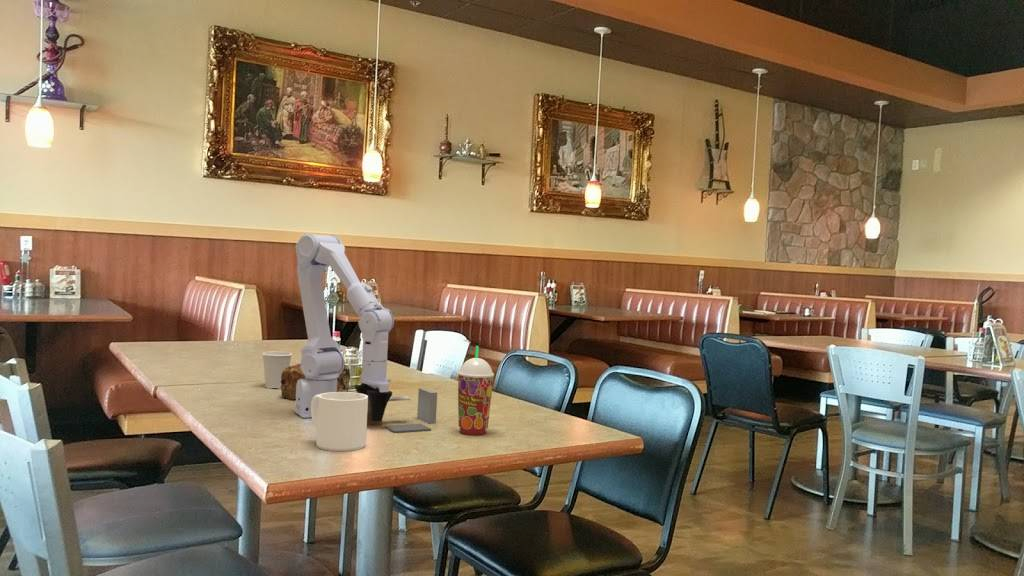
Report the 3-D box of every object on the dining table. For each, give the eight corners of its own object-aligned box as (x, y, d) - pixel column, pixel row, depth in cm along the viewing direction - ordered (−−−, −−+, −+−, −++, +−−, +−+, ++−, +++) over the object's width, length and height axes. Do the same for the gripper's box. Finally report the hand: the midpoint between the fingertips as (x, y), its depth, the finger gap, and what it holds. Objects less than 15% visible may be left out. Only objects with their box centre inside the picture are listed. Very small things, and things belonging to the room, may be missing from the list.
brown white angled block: (366, 426, 180) (368, 400, 180) (361, 423, 183) (362, 397, 183) (410, 423, 185) (411, 398, 185) (404, 420, 189) (405, 395, 188)
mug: (375, 444, 163) (377, 395, 163) (347, 454, 154) (349, 402, 153) (325, 436, 168) (327, 388, 167) (295, 445, 159) (297, 395, 158)
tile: (428, 423, 186) (430, 392, 186) (417, 418, 192) (418, 388, 192) (436, 423, 187) (437, 392, 187) (424, 417, 193) (425, 387, 193)
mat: (394, 433, 174) (394, 431, 174) (384, 427, 179) (384, 425, 179) (431, 430, 179) (431, 428, 179) (420, 425, 184) (420, 423, 184)
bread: (320, 390, 225) (322, 355, 225) (351, 394, 221) (353, 359, 221) (277, 399, 208) (279, 362, 208) (310, 403, 204) (312, 365, 204)
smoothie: (448, 433, 177) (453, 345, 176) (463, 426, 184) (467, 343, 184) (482, 438, 174) (487, 349, 173) (496, 431, 182) (500, 346, 181)
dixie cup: (254, 386, 225) (256, 352, 224) (280, 384, 231) (281, 350, 231) (271, 390, 219) (272, 355, 219) (296, 388, 226) (298, 353, 225)
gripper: (402, 364, 178) (399, 423, 178) (379, 356, 190) (377, 411, 191) (373, 364, 174) (370, 424, 175) (351, 356, 187) (349, 412, 187)
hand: (371, 418), depth 182 cm, fingers open, 6 cm apart
